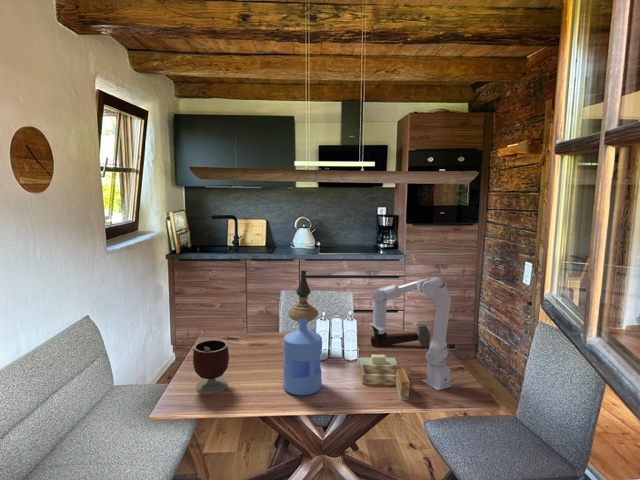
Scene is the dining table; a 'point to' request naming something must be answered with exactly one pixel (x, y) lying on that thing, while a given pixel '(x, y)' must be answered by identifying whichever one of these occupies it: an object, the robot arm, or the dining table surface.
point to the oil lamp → (303, 303)
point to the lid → (377, 360)
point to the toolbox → (383, 377)
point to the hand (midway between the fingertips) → (378, 343)
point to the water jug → (302, 361)
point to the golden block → (403, 378)
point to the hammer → (407, 337)
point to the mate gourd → (211, 365)
